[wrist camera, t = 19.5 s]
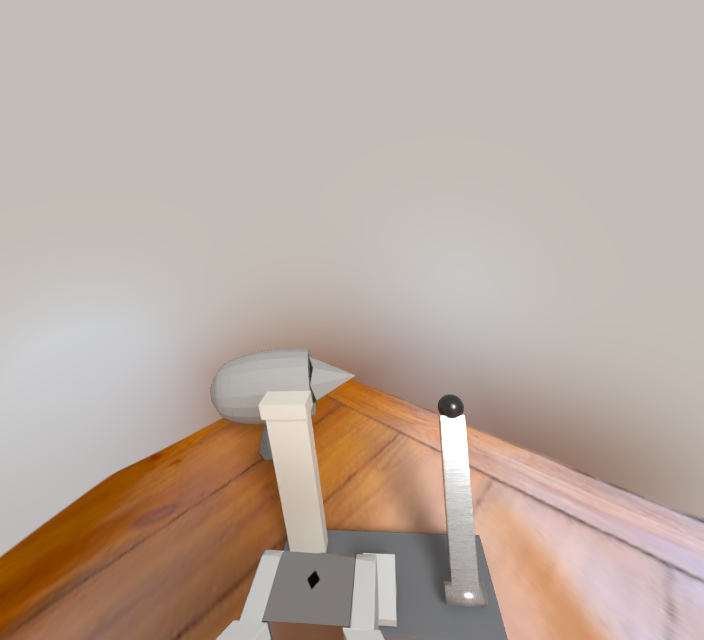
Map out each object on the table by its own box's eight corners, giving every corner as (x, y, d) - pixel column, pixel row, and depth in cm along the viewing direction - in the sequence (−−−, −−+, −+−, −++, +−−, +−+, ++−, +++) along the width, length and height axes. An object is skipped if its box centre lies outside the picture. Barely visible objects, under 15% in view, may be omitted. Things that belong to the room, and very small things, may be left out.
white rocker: (397, 626, 30) (397, 620, 30) (360, 624, 31) (358, 617, 30) (396, 561, 35) (395, 554, 34) (363, 559, 35) (362, 553, 34)
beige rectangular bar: (326, 558, 37) (305, 404, 31) (287, 556, 37) (258, 405, 31) (330, 537, 39) (310, 390, 33) (293, 536, 39) (267, 391, 33)
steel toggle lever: (489, 615, 30) (470, 394, 34) (447, 612, 30) (433, 394, 34) (482, 598, 32) (465, 394, 37) (443, 595, 33) (431, 394, 37)
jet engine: (319, 500, 46) (303, 387, 41) (212, 464, 55) (187, 366, 49) (362, 434, 59) (354, 341, 53) (270, 413, 67) (255, 331, 62)
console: (507, 655, 29) (508, 644, 29) (262, 636, 32) (259, 626, 31) (478, 545, 39) (479, 535, 38) (291, 537, 41) (289, 528, 41)
